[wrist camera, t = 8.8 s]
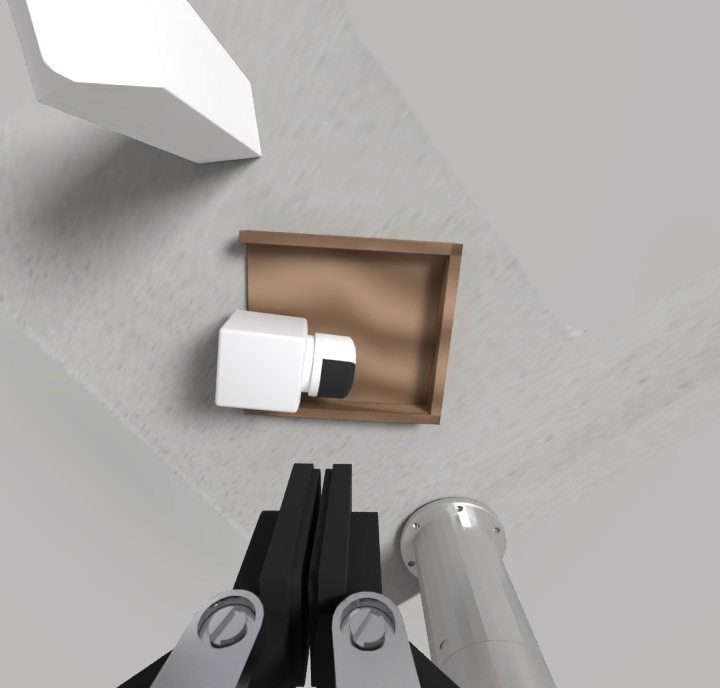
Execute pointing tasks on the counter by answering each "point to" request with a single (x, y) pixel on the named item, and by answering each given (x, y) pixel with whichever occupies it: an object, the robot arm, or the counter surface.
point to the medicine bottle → (279, 362)
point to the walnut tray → (365, 315)
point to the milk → (140, 74)
